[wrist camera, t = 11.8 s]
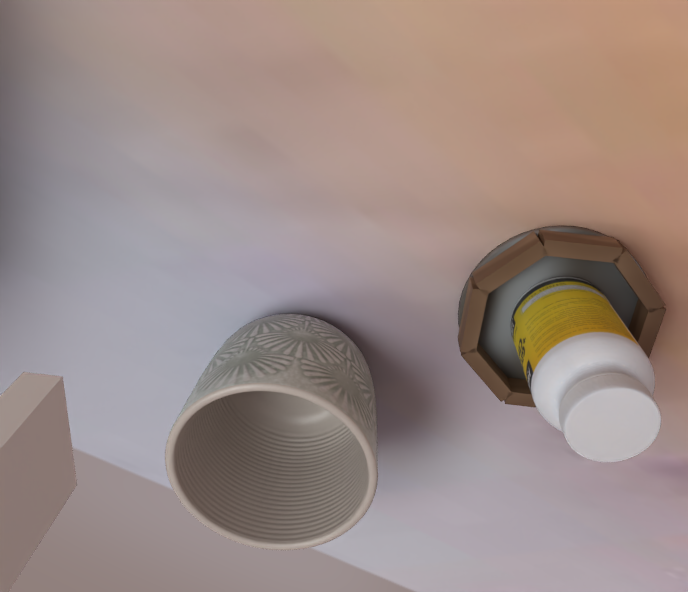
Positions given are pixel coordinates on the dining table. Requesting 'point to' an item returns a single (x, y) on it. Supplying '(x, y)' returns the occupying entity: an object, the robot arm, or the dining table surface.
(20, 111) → the dining table surface
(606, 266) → the holder
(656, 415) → the pill bottle
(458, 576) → the dining table surface
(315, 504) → the planter
